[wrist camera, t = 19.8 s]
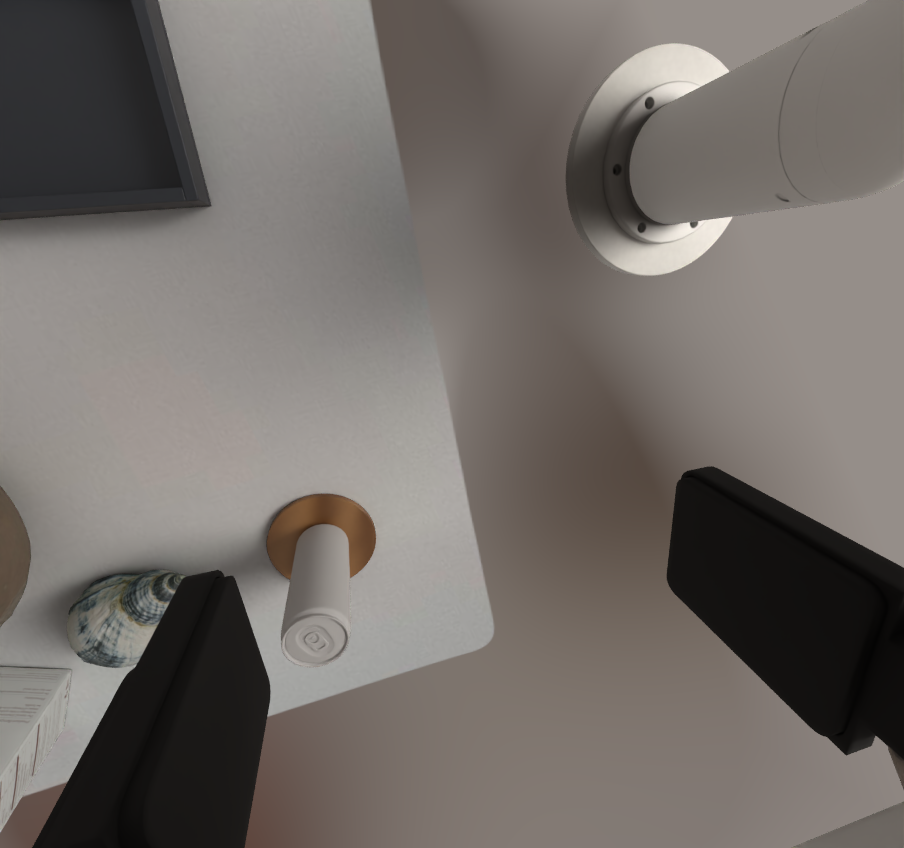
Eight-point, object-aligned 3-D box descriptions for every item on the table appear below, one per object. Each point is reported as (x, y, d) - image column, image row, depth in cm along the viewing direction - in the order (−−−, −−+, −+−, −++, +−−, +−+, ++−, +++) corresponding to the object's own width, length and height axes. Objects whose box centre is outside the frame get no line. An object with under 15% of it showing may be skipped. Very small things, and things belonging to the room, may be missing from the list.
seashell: (75, 581, 39) (213, 547, 41) (90, 664, 39) (229, 625, 40) (13, 605, 33) (179, 563, 34) (31, 704, 32) (198, 656, 34)
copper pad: (366, 484, 41) (367, 487, 40) (382, 569, 44) (382, 573, 44) (255, 505, 39) (254, 508, 38) (281, 592, 43) (280, 596, 42)
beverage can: (331, 511, 40) (326, 602, 29) (359, 546, 42) (364, 644, 31) (286, 538, 40) (264, 639, 29) (316, 572, 42) (305, 679, 31)
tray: (146, -44, 26) (124, -80, 23) (211, 206, 31) (199, 200, 28) (-219, -56, 23) (-294, -99, 20) (-83, 225, 28) (-128, 220, 25)
